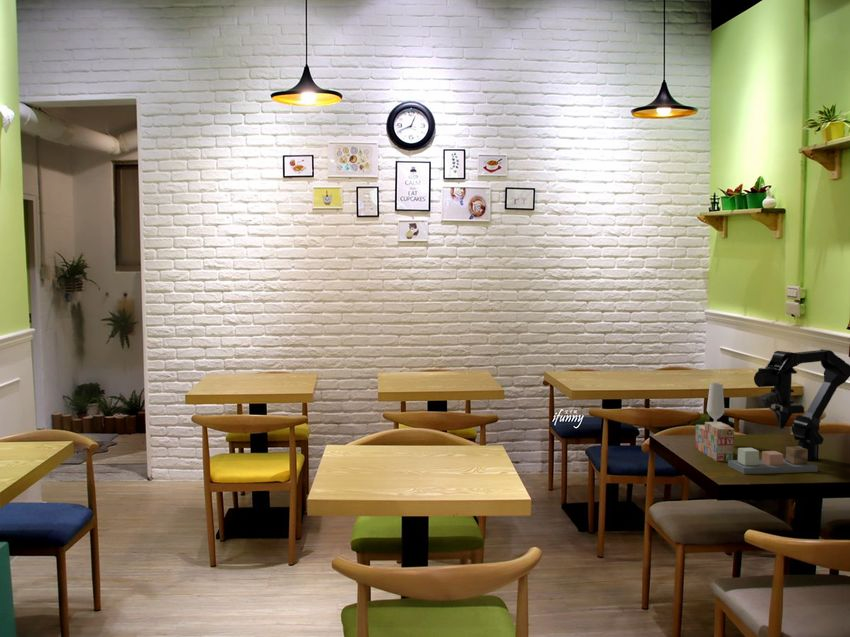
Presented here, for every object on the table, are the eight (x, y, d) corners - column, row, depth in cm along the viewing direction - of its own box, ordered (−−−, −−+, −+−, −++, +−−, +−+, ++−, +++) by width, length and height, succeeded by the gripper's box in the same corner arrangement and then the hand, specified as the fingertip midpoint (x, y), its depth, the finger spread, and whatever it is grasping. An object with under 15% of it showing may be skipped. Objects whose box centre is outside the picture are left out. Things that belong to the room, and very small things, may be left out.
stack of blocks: (694, 448, 306) (695, 417, 305) (710, 448, 306) (711, 416, 306) (716, 461, 285) (717, 428, 284) (733, 461, 285) (734, 428, 284)
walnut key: (798, 460, 278) (799, 446, 278) (807, 463, 273) (807, 449, 273) (785, 460, 278) (786, 446, 277) (793, 464, 273) (794, 449, 272)
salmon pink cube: (774, 464, 277) (775, 450, 277) (782, 468, 272) (783, 454, 272) (761, 465, 277) (762, 451, 276) (769, 468, 272) (769, 454, 272)
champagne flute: (719, 445, 309) (721, 385, 308) (703, 443, 314) (704, 383, 312) (726, 442, 314) (728, 383, 313) (709, 440, 319) (711, 381, 317)
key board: (799, 463, 282) (799, 458, 282) (817, 471, 271) (817, 466, 271) (727, 465, 279) (727, 460, 278) (743, 474, 268) (743, 468, 268)
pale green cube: (751, 461, 276) (751, 447, 276) (758, 465, 271) (759, 450, 271) (737, 461, 276) (738, 447, 275) (744, 465, 271) (745, 451, 270)
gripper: (748, 382, 292) (746, 423, 293) (776, 390, 273) (774, 434, 275) (776, 381, 293) (775, 423, 294) (805, 389, 275) (804, 433, 276)
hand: (781, 428), depth 285 cm, fingers closed
